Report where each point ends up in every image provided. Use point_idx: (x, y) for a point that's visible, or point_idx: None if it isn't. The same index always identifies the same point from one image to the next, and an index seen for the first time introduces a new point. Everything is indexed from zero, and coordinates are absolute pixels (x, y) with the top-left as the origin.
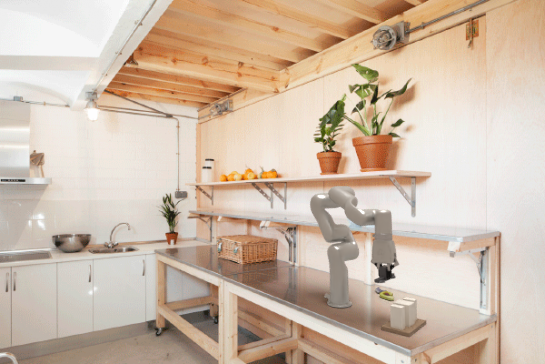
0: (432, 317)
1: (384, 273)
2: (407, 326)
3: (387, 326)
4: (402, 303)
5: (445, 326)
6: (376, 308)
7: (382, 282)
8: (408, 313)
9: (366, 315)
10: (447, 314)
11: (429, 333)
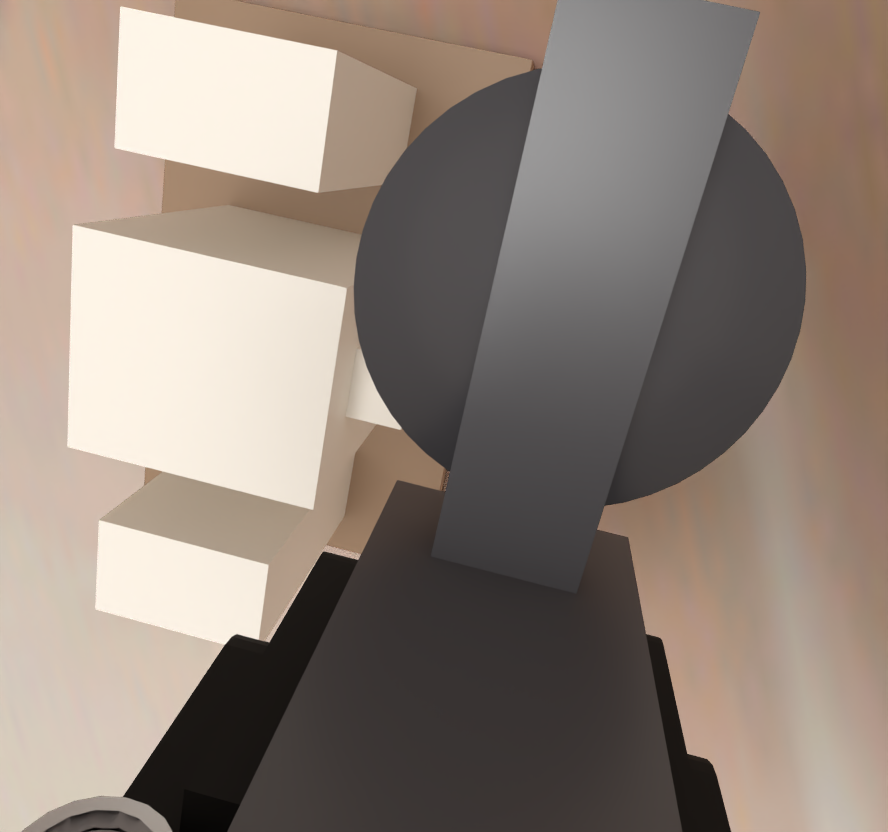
0: (163, 672)
1: (383, 651)
2: (249, 210)
3: (457, 94)
4: (195, 301)
5: (7, 486)
6: (726, 748)
7: (425, 140)
8: (153, 215)
9: (804, 487)
10: (81, 784)
11: (65, 227)
